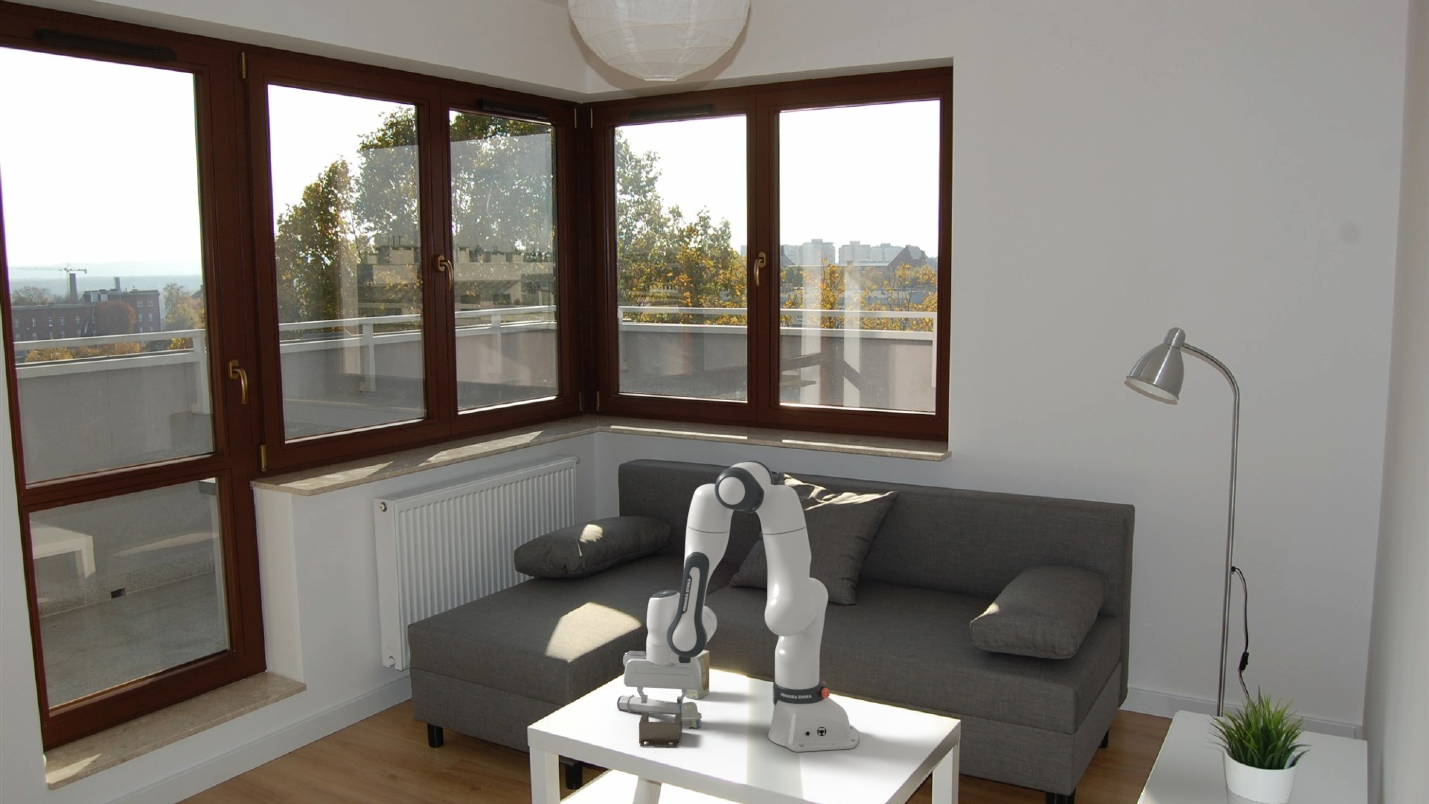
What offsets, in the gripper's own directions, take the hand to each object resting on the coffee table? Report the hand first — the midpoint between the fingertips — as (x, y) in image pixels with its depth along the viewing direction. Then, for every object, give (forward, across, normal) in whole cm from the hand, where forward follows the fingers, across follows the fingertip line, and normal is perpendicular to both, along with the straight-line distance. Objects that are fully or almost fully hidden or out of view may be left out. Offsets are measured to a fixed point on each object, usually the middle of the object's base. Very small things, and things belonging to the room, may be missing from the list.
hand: (662, 703), depth 280 cm
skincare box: (+4, +8, +18) cm, 20 cm away
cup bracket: (+4, +1, -12) cm, 12 cm away
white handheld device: (+5, -1, +1) cm, 5 cm away
